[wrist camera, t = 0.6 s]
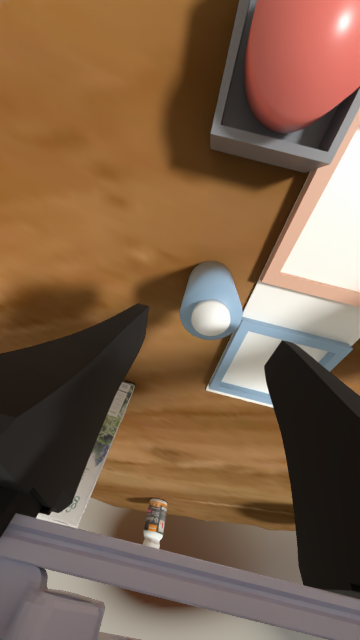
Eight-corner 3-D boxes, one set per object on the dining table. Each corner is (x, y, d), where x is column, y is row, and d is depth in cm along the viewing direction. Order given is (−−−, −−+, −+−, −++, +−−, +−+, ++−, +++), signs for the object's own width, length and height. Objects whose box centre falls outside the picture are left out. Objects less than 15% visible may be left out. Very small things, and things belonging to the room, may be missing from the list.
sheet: (596, 99, 9) (602, 98, 9) (285, 409, 25) (286, 410, 25) (372, 42, 9) (374, 40, 9) (205, 389, 25) (205, 390, 25)
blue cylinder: (239, 267, 16) (255, 300, 10) (223, 306, 18) (230, 351, 12) (194, 255, 16) (186, 283, 10) (184, 296, 18) (173, 336, 12)
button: (413, -47, 6) (487, -136, 5) (323, 143, 9) (348, 130, 7) (277, -81, 6) (301, -184, 5) (227, 119, 9) (231, 100, 7)
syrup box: (95, 391, 29) (13, 525, 17) (99, 369, 26) (2, 514, 14) (128, 403, 29) (72, 541, 17) (136, 383, 26) (74, 534, 14)
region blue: (348, 343, 18) (353, 348, 17) (288, 403, 24) (290, 409, 23) (241, 316, 18) (242, 320, 17) (208, 383, 24) (208, 388, 23)
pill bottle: (159, 497, 56) (151, 548, 47) (171, 503, 58) (164, 553, 49) (146, 497, 58) (136, 546, 50) (158, 503, 60) (150, 551, 52)
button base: (386, -3, 8) (464, -94, 6) (304, 173, 12) (330, 164, 9) (252, -38, 8) (270, -144, 6) (210, 149, 12) (210, 133, 9)
